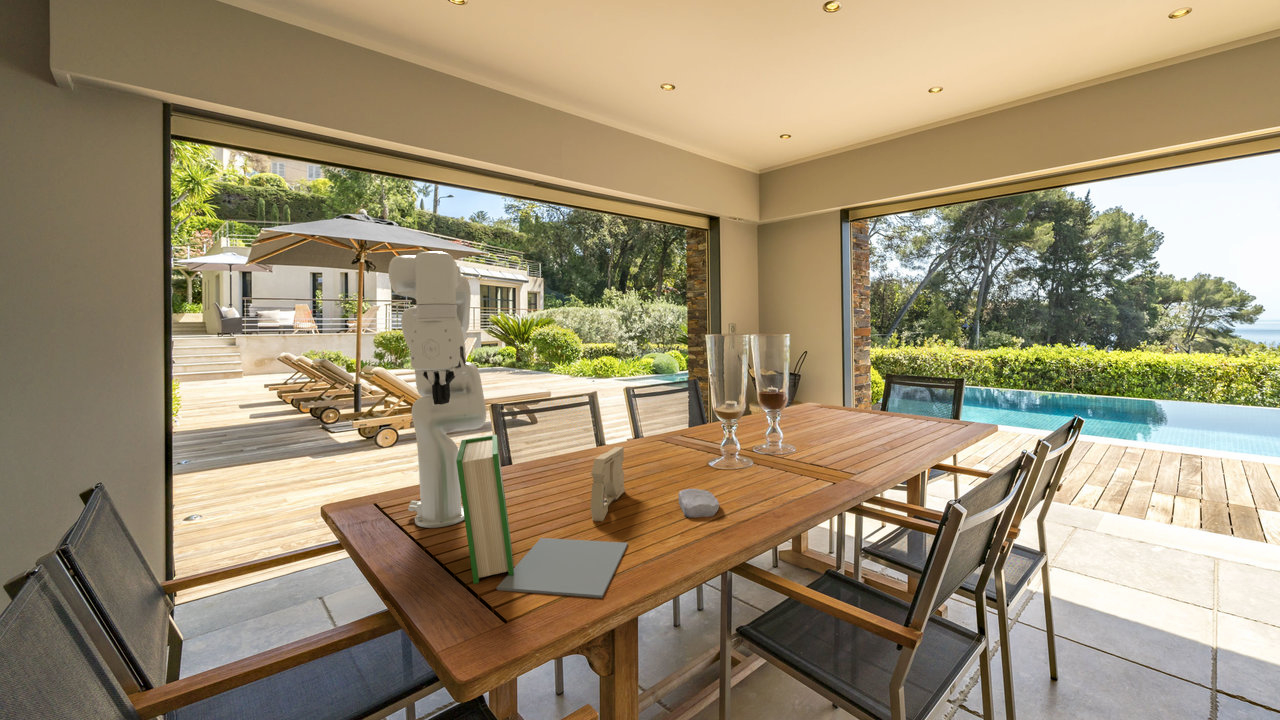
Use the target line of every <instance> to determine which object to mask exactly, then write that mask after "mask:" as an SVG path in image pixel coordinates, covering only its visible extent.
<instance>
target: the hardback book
mask: <svg viewBox="0 0 1280 720" xmlns="http://www.w3.org/2000/svg"><path fill="white" fill-rule="evenodd" d="M498 441H499V440H498V435H497V434H492V435H491V434H490V435H485V436H478V437H473V438H467V439H466V438H465V439H462V440H461V441H460V444H459V448H458V451H459V452H458V456H457V459H456V462H457V469H458V476H459V483H460V491H461V506H462V507H463V512H464V524H465V530H466V531H465V533H466V538H467V539H466V540H467V545H468V546H467V547H468V553H469V558H470V566H471V573H472V581H473V585H475V584H479V583H480V579H481V578H485V577H489V576H493V575H498V574H502V573H506V572H508V574H509V576H511V575H514V571H513V569H514V561H513V550H512V538H511V531H510V525H509V524H510V523H509V516H508V509H507V508H508V507H507V502H506V494H505V487H504V479H503V472H502V464H501V456H500V449H499V442H498Z"/></svg>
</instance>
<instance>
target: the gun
mask: <svg viewBox="0 0 1280 720" xmlns="http://www.w3.org/2000/svg"><path fill="white" fill-rule="evenodd" d="M624 450H625V449H624V446H614V447H613V448H612V449H610V450H608V451H606V452H604V453H602V454H600V455H599V456H597V457H595V458H594V459H593V465H592V470H591V474H590V475H591V477H592V484H591V495H590V496H591V497H590V513H591V519H592V522H604V520H605V518H606V516H607V514H608V511H609V509H608V507H609V505H610V504H612V502H615V501H617V500H618V499H619V498H620V497H621V496H622V495H623V494H624V493H625V491H626V490H625V488H626V487H625V484H624V483H625V482H624V481H625V479H624V478H625V476H624V475H625V471H624V470H623V462H624V457H625V455H624V453H625V452H624Z"/></svg>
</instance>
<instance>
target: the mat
mask: <svg viewBox="0 0 1280 720" xmlns="http://www.w3.org/2000/svg"><path fill="white" fill-rule="evenodd" d="M628 546H629V544H628V542H624V541H623V542H620V541H619V542H618V541H603V540H588V539H587V540H584V539H571V538H570V539H568V538H549V537H547V538H546V537H540V538H539V539H538V541H537V542H536V543H535V544H534V545H533V546H532V547H531V548H530V549H529V550H528V551H527V553H526V554H525V555H524V556H523V557H522V559H521V560H520V561H519V562H518V563H516V565H515V566H514V567H513V571H514V575H511V576H509V573H508V574H507V576H505V577H504V578H503V579H502V581H501V582H500V583H499V584H498V585H497V586H496V590H497V591H506V592H518V593H520V592H521V593H532V594H542V595H543V594H545V595H546V594H547V595H557V596H558V595H559V596H567V597H568V596H569V597H570V596H571V597H583V598H585V597H586V598H594V599H603V598H604V596H605V593H606V591H607V589H608V587H609V585H610V583H611V581H612V578H613V577H614V575H615V572H616V570H617V568H618V566H619V564H620V561H621V560H622V558H623V555H624V554H625V551H626V550H627V548H628Z"/></svg>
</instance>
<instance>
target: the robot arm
mask: <svg viewBox="0 0 1280 720" xmlns="http://www.w3.org/2000/svg"><path fill="white" fill-rule="evenodd" d="M388 279H389V283H390V287H391V289H392V291H393V292H394V293H395V295H398V296H402V297H406V298H413V299H415V301H416V302H415V303H416V305H414V306H411V307H408V308H406V309H405V310H404V311H403V312H402V314H401V318H400V320H401V321H400V325H401V330H402V334H403V337H404V340H405V342H406V345H407V347H408V350H409V351H410V367H411V368H412V369H413V370H414V375H415V384H416V386H415V387H416V389H417V392H418V394H419V396H420V397H419V398H417V399H416V400H415V401H414V402H413V404H412V406H411V419H412V423H413V426H414V427H413V428H414V433H415V437H416V447H417V460H418V477H419V478H418V479H419V481H418V482H419V494H420V495H419V496H420V500H411V501H409V506H408V508H407V511H409V512H416V513H417V514H416V515H415V517H414V524H415V525H416V526H417V527H421V528H424V529H425V528H428V529H433V528H434V529H435V528H437V529H438V528H442V527H449V526H452V525H455V524H458V523H461V522H463V521H465V519H464V512H463V506H462V498H461V491H460V483H459V476H458V469H457V462H456V459H457V456H458V452H459V448H458V447H459V446H458V445H457V444H456V442H455V441H454V440H453V438H451V437H449V435H448V433H452V432H460V431H461V432H462V431H469V430H477V429H479V428H482V427H483V426H484V425H485V423H486V422H487V421H486V420H487V408H486V401H485V396H484V388H483V386H482V380H481V378H482V377H481V375H480V371H479V369H478V367H477V365H476V364H475V363H473V362H470V361H467V358H466V357H467V355H466V354H467V353H466V343H465V338H464V337H465V336H464V334H466V333H467V332H468V330H469V328H470V315H471V301H472V300H471V295H472V294H471V285H470V281H469V279H468V278H467V276H466V275H464V274H462V272H461V267H460V265H459V264H458V263H457V261H456V260H455V259H454V257H453V256H452V254H450V253H447V252H443V251H422V252H418V253H417V254H415V255H397V256H394V257H392V259H391V260H390V262H389V265H388Z"/></svg>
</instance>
